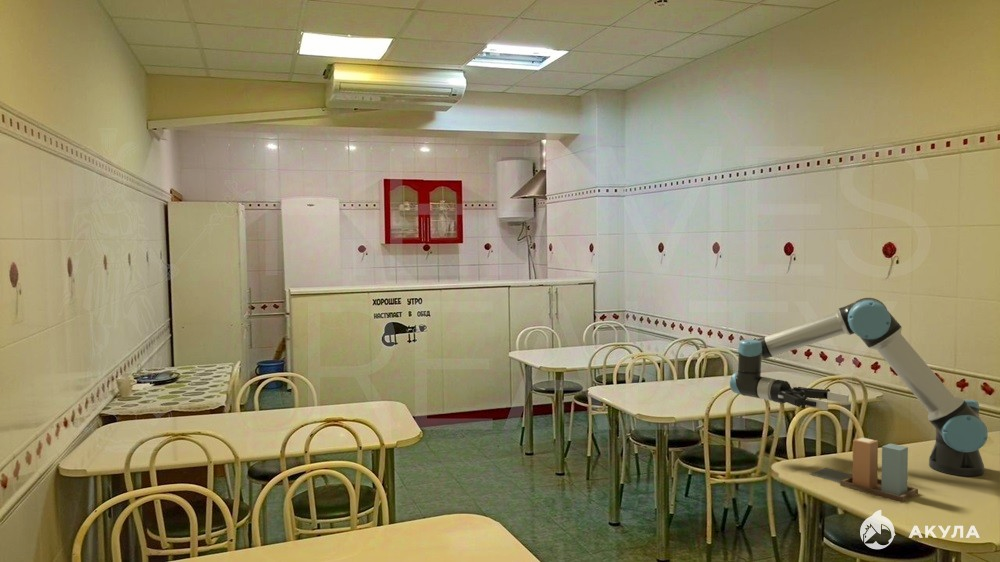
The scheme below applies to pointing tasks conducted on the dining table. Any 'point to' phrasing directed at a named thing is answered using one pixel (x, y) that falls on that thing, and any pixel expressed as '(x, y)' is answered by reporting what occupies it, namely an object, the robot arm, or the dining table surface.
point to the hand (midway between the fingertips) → (838, 402)
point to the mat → (831, 474)
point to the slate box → (894, 469)
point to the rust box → (865, 462)
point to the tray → (879, 490)
